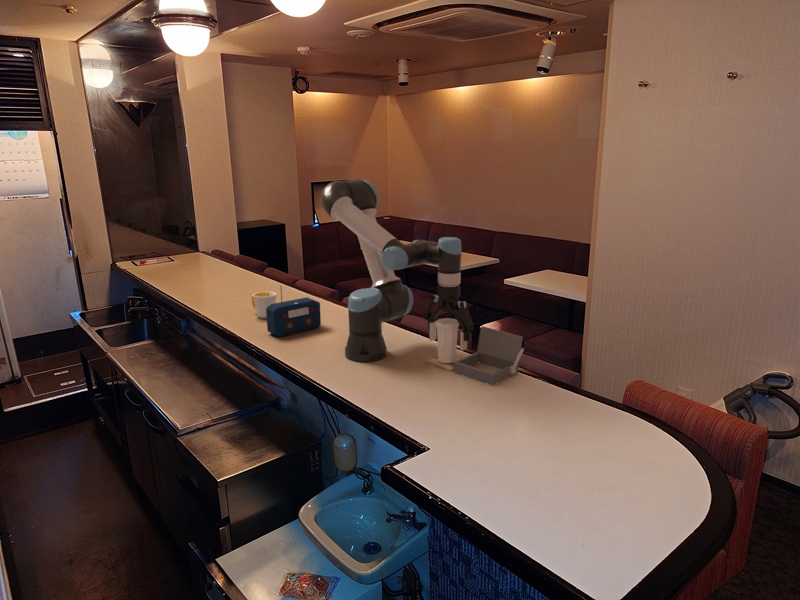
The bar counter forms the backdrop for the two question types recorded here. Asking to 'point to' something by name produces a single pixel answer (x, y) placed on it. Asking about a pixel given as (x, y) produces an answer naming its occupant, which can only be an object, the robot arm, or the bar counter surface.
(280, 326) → the radio
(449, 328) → the cup
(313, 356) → the bar counter surface
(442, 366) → the trivet
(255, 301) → the mug
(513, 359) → the grey caddy tray
